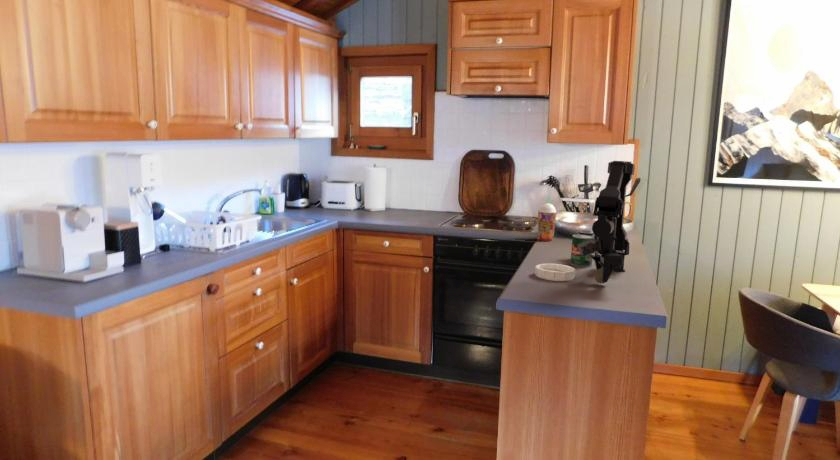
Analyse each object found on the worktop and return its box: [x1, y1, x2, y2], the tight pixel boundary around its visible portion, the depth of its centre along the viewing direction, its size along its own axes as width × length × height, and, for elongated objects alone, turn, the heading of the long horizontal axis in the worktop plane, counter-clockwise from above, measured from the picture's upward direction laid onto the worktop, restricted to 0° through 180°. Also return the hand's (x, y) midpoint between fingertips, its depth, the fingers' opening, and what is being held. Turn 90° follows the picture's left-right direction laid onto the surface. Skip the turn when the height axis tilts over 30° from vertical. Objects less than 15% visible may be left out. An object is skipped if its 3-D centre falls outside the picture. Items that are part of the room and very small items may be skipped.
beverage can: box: [577, 227, 594, 237], centre depth 228 cm, size 6×6×12 cm
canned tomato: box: [570, 233, 594, 268], centre depth 218 cm, size 8×8×11 cm
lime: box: [594, 268, 611, 284], centre depth 189 cm, size 4×5×5 cm
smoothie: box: [537, 197, 558, 242], centre depth 267 cm, size 8×8×20 cm
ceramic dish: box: [534, 263, 576, 282], centre depth 199 cm, size 13×13×3 cm
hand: (602, 279), depth 189 cm, fingers closed on lime, 5 cm apart
